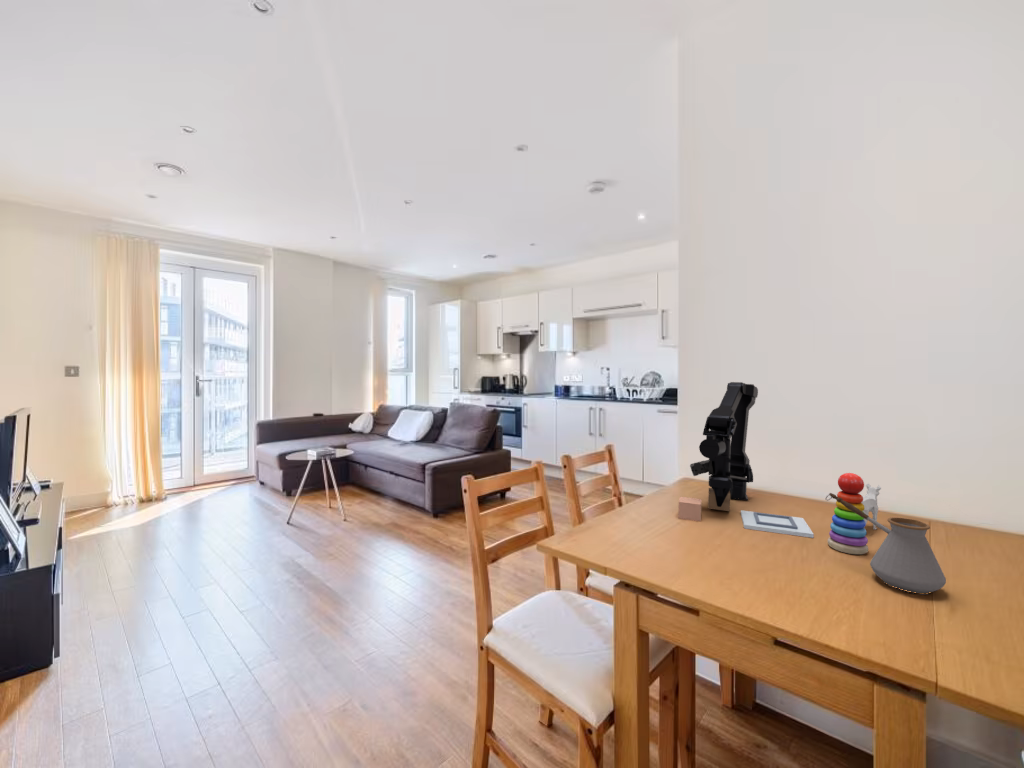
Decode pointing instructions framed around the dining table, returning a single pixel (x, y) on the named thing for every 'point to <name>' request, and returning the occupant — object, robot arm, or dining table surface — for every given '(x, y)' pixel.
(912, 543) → the coffee pot
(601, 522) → the dining table surface
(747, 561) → the dining table surface
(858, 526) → the stacking toy
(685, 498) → the terracotta block
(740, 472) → the robot arm
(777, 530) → the board
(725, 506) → the walnut block
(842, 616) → the dining table surface
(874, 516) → the cat figurine
